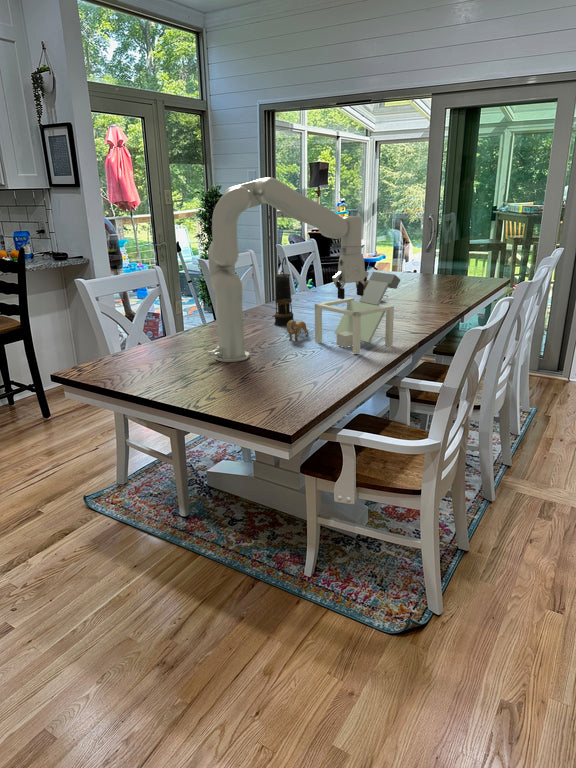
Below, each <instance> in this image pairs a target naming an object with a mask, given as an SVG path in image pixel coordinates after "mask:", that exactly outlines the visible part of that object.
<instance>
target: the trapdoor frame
mask: <svg viewBox="0 0 576 768" xmlns="http://www.w3.org/2000/svg"><path fill="white" fill-rule="evenodd" d="M351 300H352V301H355V298H354V297H347V298H344V299H337V300H331V301H330V300H329V301H324V302H319V303H318V302H317V303H314V343H315V342H317V343H316V344H321V343H320V342H322V343H323V310H326V311H329V312H335V313H339V314H342V315H344V314H347V315H351V316H353V347H352V353H354V354H359V353H360V354H361V341H360V333H361V316H363V315H368V314H373V313H378V312H383V311H385V336H384V337H385V338H384V339H385V340H384V346H385V345H388V346H390V347H392V346H391V345H394V314H395V305H392V304H391V305H386V306H385V305H384V306H382V307H379V308H374V309H369V310H364V311H359V312H355V311H351V310H346V309H347V307H348V305H349V303H350V301H351ZM339 304H346V308H342V307H337V305H339ZM388 346H387V347H388ZM352 353H351V354H352ZM354 354H353V355H354ZM360 354H359V355H360Z"/></svg>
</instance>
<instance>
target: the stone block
mask: <svg viewBox="0 0 576 768" xmlns="http://www.w3.org/2000/svg"><path fill="white" fill-rule="evenodd" d="M337 345H339V346H343V347H348V346H352V345H353V333H350V332H347V331H346V332H342V333H337V334H336V346H337ZM339 346H338V347H339Z"/></svg>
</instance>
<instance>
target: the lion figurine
mask: <svg viewBox="0 0 576 768" xmlns="http://www.w3.org/2000/svg"><path fill="white" fill-rule="evenodd" d="M302 330H303V331H304V335H305V337H309V331H308V329H307V325H306V323H305V321H303V320H301V321H298V322H297V321H295V320H290V321H289V322H288V323H287V326H286V332H287V333H288V334H289V339H288V341H293V335H294V341H295V342H298V341H299V339H298V338H299V337H300V336H301V334H302Z"/></svg>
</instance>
